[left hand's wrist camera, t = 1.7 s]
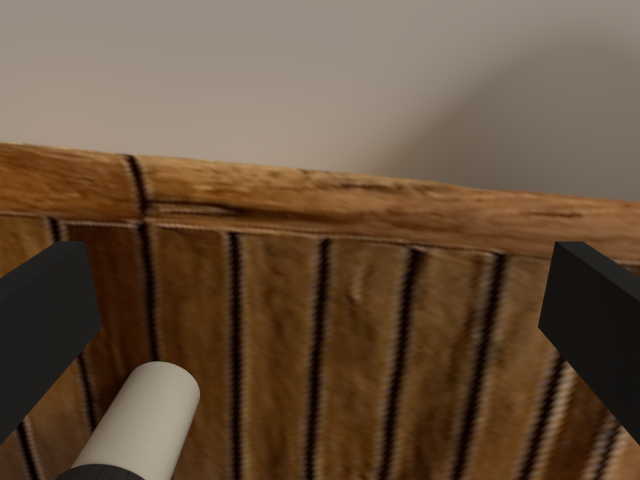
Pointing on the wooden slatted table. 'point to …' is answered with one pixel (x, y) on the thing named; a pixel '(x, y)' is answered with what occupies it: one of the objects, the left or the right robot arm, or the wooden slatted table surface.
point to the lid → (98, 473)
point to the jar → (145, 422)
